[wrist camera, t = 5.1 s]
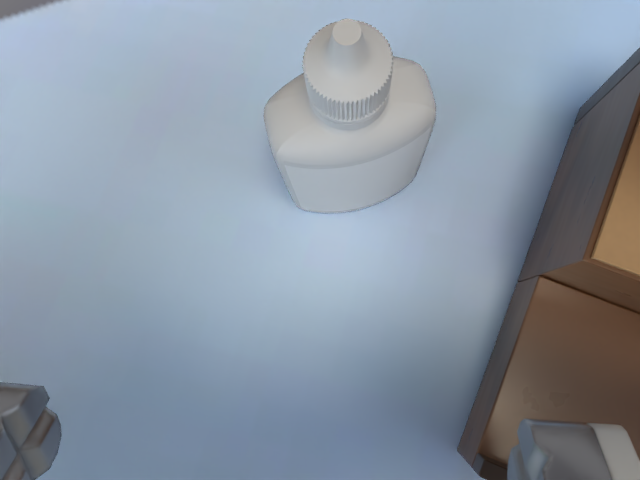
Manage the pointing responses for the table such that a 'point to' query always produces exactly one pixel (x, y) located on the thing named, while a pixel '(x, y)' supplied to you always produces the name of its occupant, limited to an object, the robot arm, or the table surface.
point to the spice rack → (573, 292)
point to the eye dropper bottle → (350, 121)
